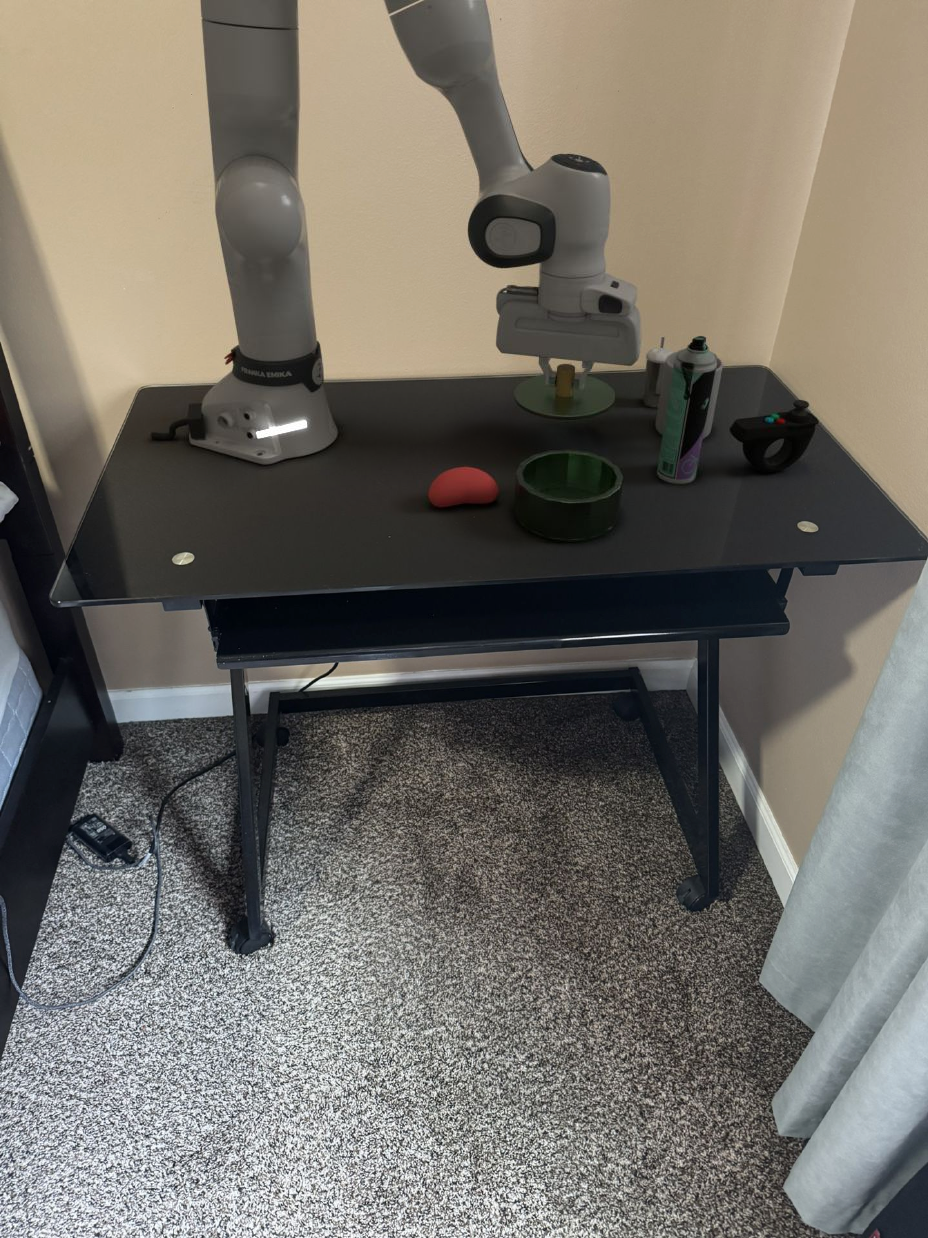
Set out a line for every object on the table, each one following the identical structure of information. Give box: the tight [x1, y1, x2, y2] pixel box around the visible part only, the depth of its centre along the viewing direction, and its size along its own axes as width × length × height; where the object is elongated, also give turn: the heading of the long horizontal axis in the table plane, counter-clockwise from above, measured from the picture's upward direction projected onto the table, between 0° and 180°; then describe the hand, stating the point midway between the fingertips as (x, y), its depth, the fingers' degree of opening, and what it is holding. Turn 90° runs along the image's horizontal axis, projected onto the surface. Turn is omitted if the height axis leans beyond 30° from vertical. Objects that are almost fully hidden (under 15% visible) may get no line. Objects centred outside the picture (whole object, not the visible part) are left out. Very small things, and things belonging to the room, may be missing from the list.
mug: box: [655, 351, 724, 440], centre depth 132 cm, size 12×8×11 cm
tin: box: [514, 449, 624, 543], centre depth 115 cm, size 14×14×6 cm
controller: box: [729, 399, 820, 473], centre depth 124 cm, size 4×12×10 cm, turn 103°
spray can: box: [656, 335, 718, 485], centre depth 119 cm, size 6×6×20 cm
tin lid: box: [513, 363, 616, 421], centre depth 127 cm, size 15×15×5 cm
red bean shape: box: [427, 466, 500, 508], centre depth 118 cm, size 5×9×6 cm
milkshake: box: [643, 336, 675, 409], centre depth 141 cm, size 5×5×10 cm
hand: (565, 386), depth 127 cm, fingers closed on tin lid, 2 cm apart
